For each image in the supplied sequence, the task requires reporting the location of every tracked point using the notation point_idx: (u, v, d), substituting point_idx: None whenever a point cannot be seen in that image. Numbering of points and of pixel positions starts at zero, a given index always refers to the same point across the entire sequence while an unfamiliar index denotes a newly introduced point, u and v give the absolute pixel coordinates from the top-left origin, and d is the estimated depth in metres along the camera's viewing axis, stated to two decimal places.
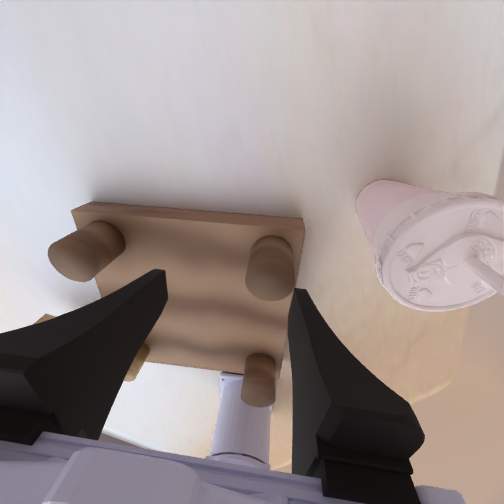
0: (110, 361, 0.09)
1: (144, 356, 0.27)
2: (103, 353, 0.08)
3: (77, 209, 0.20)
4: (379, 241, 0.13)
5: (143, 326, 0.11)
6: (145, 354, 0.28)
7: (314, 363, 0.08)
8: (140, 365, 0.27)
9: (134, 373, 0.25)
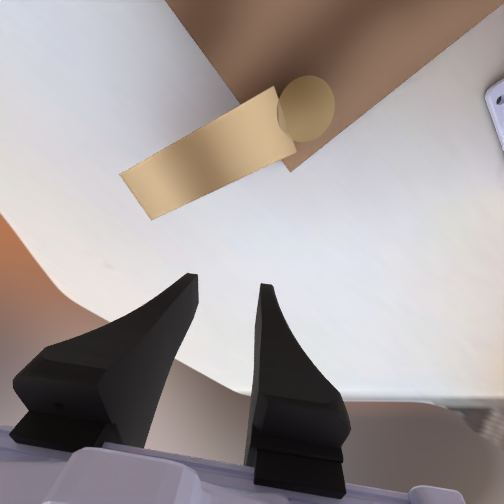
0: (155, 368, 0.09)
1: None
2: (151, 360, 0.08)
3: None
4: None
5: (180, 331, 0.11)
6: None
7: (259, 355, 0.08)
8: None
9: (326, 84, 0.11)
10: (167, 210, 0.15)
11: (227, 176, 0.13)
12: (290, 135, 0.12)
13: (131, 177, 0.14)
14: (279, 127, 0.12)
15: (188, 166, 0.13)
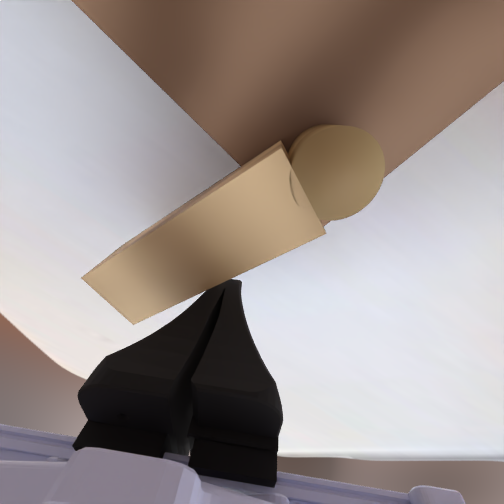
0: None
1: None
2: None
3: None
4: None
5: None
6: None
7: (208, 347, 0.08)
8: None
9: (369, 135, 0.07)
10: (151, 313, 0.11)
11: (225, 270, 0.09)
12: (314, 213, 0.08)
13: (97, 280, 0.10)
14: (296, 204, 0.08)
15: (169, 263, 0.09)
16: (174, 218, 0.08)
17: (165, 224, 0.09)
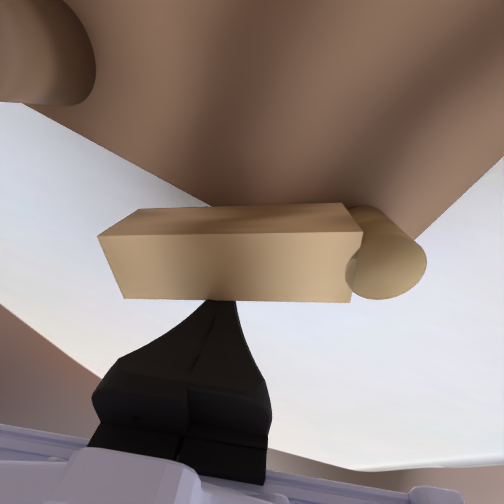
0: None
1: None
2: None
3: None
4: None
5: None
6: None
7: (199, 346, 0.08)
8: None
9: (424, 256, 0.08)
10: (152, 296, 0.10)
11: (251, 293, 0.10)
12: (352, 285, 0.09)
13: (114, 246, 0.09)
14: (344, 273, 0.09)
15: (204, 265, 0.09)
16: (237, 234, 0.08)
17: (224, 234, 0.09)
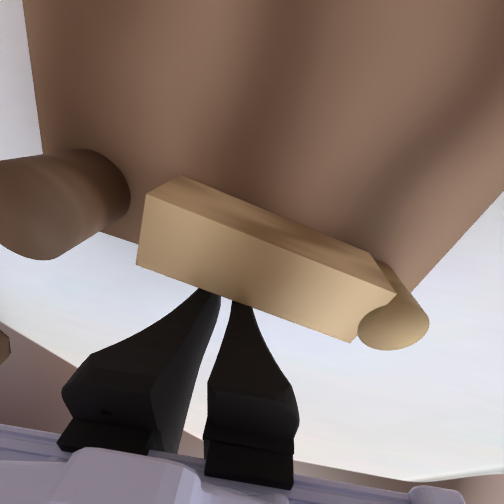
0: (188, 373, 0.09)
1: None
2: (186, 366, 0.08)
3: None
4: None
5: (206, 335, 0.11)
6: None
7: (220, 349, 0.08)
8: None
9: (426, 328, 0.10)
10: (169, 274, 0.10)
11: (272, 307, 0.10)
12: (360, 330, 0.10)
13: (160, 212, 0.08)
14: (360, 319, 0.10)
15: (243, 267, 0.09)
16: (293, 253, 0.09)
17: (282, 249, 0.09)
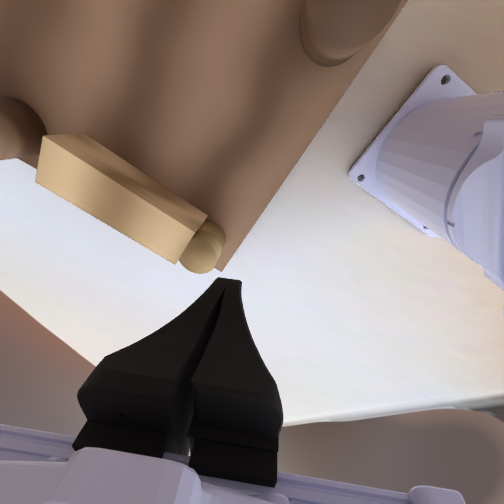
0: None
1: (222, 246, 0.18)
2: None
3: None
4: None
5: None
6: (223, 244, 0.18)
7: (208, 347, 0.08)
8: (219, 255, 0.17)
9: (216, 260, 0.16)
10: (57, 193, 0.15)
11: (124, 229, 0.16)
12: (179, 256, 0.16)
13: (52, 149, 0.14)
14: (178, 247, 0.16)
15: (105, 197, 0.15)
16: (133, 194, 0.14)
17: (126, 189, 0.14)
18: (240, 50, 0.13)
